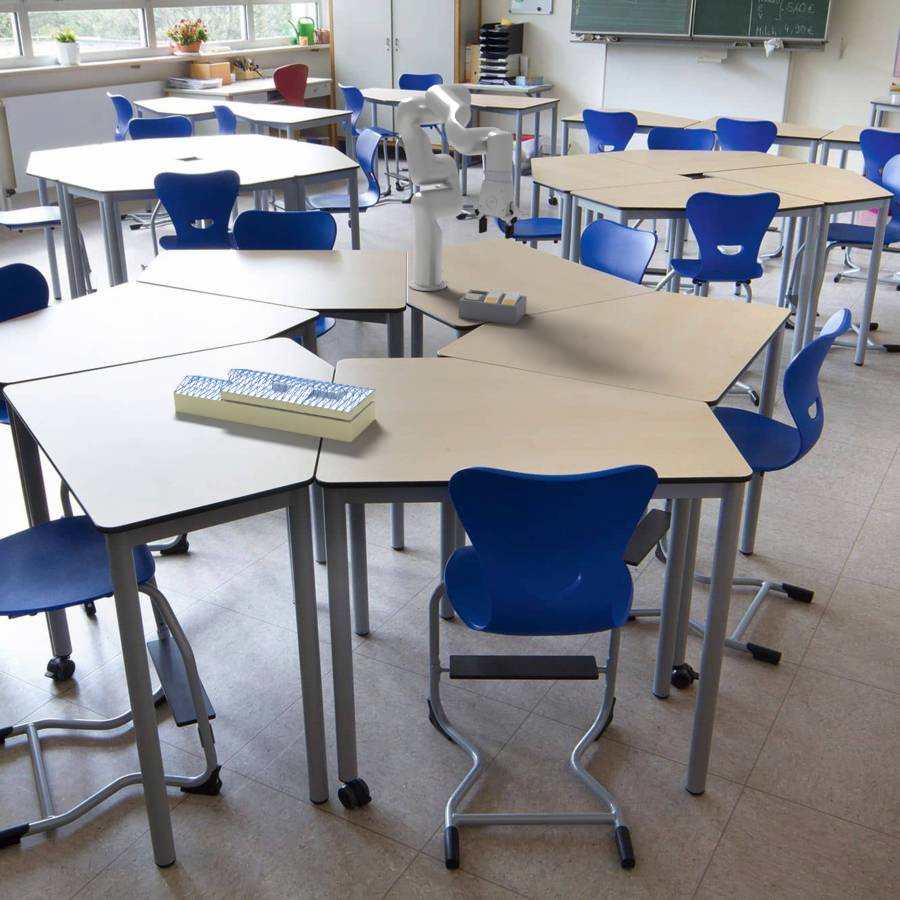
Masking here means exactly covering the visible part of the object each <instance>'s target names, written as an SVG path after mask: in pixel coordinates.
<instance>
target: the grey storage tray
mask: <svg viewBox="0 0 900 900" xmlns="http://www.w3.org/2000/svg"><path fill="white" fill-rule="evenodd" d="M468 293H472V294H473V293H474V294H482V295H485V296H484V297H483V298H482V299H481V300H479V301H478V300H470V299H466V294H468ZM488 293H489V291H487V290H485V291H483V290H479V289H470V290H468V292H466V293H465V294H464V295H463V296H462V297H460V299H458V318H459V319H460V318H461V319H468V320H473V321H474V320H475V321H483V322H491V323H499V324H500V323H501V324H507V325H514V326H515V325H517V324H518V323H519V321H520V320H521V319H522V318H523V317H524V316H525V315H526V314H527V298H528V297H527V296H526V295H521V294H520V299H519V301H518V302H517V303H516V304H515V305H505V304H501V303H502V301H503V299H504V297H505V295H506V294H507V293H504V292H503V296H502V298H501V299H500V300H499V301H498V302H497V303H489V302H484V300H485V298H486V296H487V295H488Z"/></svg>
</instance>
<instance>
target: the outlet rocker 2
mask: <svg viewBox="0 0 900 900" xmlns="http://www.w3.org/2000/svg"><path fill="white" fill-rule="evenodd" d="M488 292H489V293H488V295H487V296H486V298H485V300H484V302H489V303H497V302H498V301H499V300H500V299H501V298H502V296H503V293H504V291H503V290H498V289H489V291H488Z"/></svg>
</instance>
